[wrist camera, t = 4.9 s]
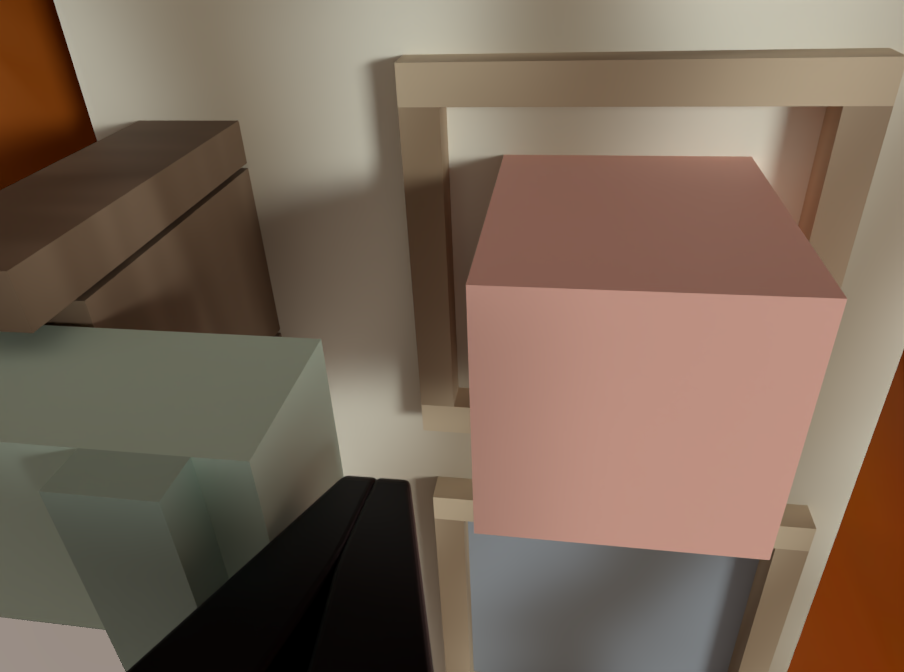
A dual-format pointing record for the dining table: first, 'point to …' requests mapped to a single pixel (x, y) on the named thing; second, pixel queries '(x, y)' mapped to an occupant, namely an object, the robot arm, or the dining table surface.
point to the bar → (150, 469)
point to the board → (472, 252)
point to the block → (642, 353)
